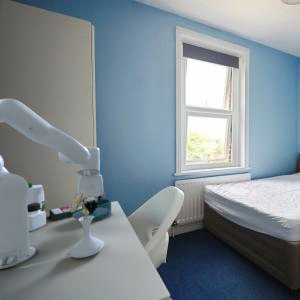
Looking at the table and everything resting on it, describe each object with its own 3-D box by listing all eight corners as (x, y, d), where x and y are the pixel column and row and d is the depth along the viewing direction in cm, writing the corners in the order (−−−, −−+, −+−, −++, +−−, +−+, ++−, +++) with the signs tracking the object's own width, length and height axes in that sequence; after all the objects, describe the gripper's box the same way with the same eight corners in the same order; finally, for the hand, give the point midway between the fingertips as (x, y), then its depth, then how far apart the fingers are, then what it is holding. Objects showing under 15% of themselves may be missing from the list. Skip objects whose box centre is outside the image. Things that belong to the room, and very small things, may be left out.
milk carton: (22, 219, 112) (19, 183, 110) (44, 215, 118) (42, 180, 117) (23, 224, 106) (20, 185, 104) (46, 219, 112) (44, 183, 111)
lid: (109, 216, 98) (109, 203, 98) (70, 222, 90) (70, 208, 90) (107, 207, 110) (107, 196, 110) (73, 212, 102) (73, 200, 102)
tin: (112, 218, 114) (111, 203, 113) (82, 224, 106) (81, 208, 106) (110, 211, 125) (110, 197, 125) (83, 215, 118) (82, 201, 117)
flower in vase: (74, 247, 84) (72, 187, 82) (106, 242, 88) (104, 185, 86) (62, 266, 72) (59, 196, 70) (100, 260, 76) (97, 193, 74)
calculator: (86, 207, 120) (53, 213, 109) (86, 214, 121) (53, 221, 109) (80, 203, 127) (49, 208, 116) (80, 210, 128) (49, 216, 116)
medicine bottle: (46, 224, 105) (45, 201, 105) (32, 231, 98) (31, 206, 98) (34, 224, 106) (32, 201, 105) (18, 230, 99) (17, 205, 98)
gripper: (69, 174, 92) (69, 215, 93) (110, 172, 100) (110, 210, 101) (70, 172, 98) (71, 210, 99) (109, 170, 107) (109, 205, 107)
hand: (91, 210), depth 100 cm, fingers closed on lid, 2 cm apart
